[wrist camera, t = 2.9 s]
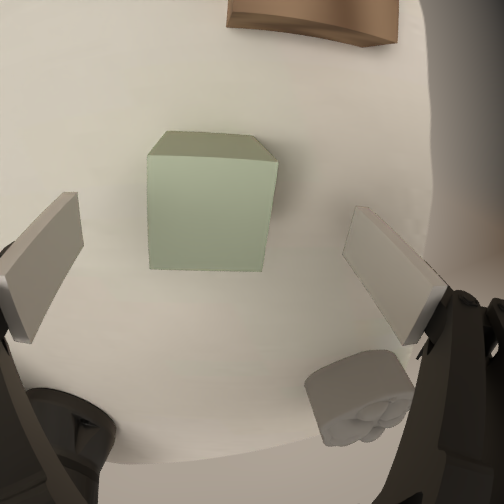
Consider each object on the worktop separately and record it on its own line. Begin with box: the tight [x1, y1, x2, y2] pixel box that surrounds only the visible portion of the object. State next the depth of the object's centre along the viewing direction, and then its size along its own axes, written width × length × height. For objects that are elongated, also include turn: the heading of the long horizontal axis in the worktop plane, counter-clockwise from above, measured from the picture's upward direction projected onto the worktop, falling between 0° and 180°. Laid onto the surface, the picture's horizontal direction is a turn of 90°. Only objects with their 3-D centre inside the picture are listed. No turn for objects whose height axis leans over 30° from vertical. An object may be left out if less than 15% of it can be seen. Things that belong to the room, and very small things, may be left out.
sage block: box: [147, 131, 279, 272], centre depth 18 cm, size 6×6×8 cm
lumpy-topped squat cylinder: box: [305, 350, 415, 446], centre depth 34 cm, size 10×13×9 cm
